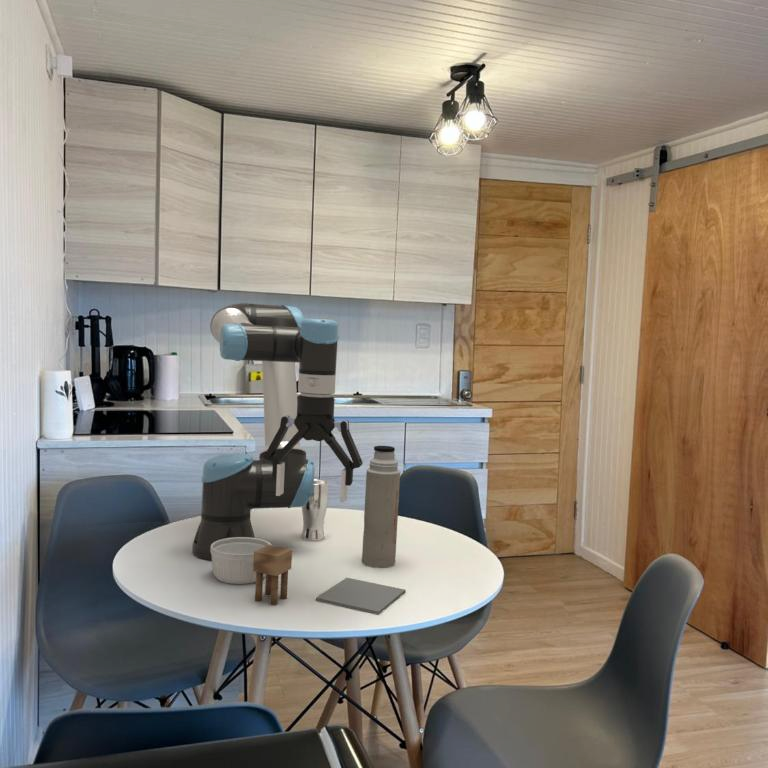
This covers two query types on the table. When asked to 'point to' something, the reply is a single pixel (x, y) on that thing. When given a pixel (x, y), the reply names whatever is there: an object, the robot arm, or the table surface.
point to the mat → (361, 595)
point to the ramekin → (235, 559)
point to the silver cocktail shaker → (315, 512)
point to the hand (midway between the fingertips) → (311, 497)
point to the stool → (272, 571)
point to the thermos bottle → (381, 509)
